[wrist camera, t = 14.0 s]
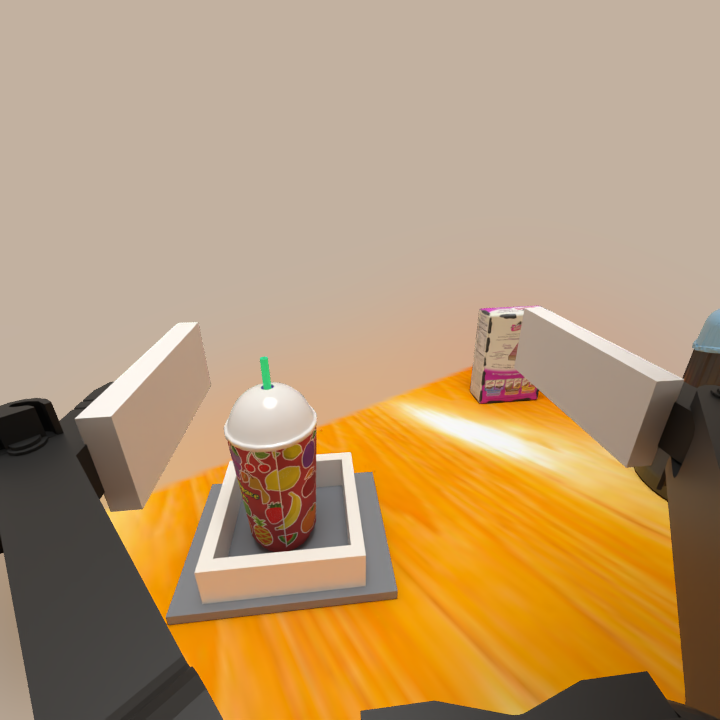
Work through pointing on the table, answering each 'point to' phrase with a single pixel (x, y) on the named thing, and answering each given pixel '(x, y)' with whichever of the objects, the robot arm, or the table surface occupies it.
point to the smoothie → (275, 461)
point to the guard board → (287, 553)
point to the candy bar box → (499, 357)
